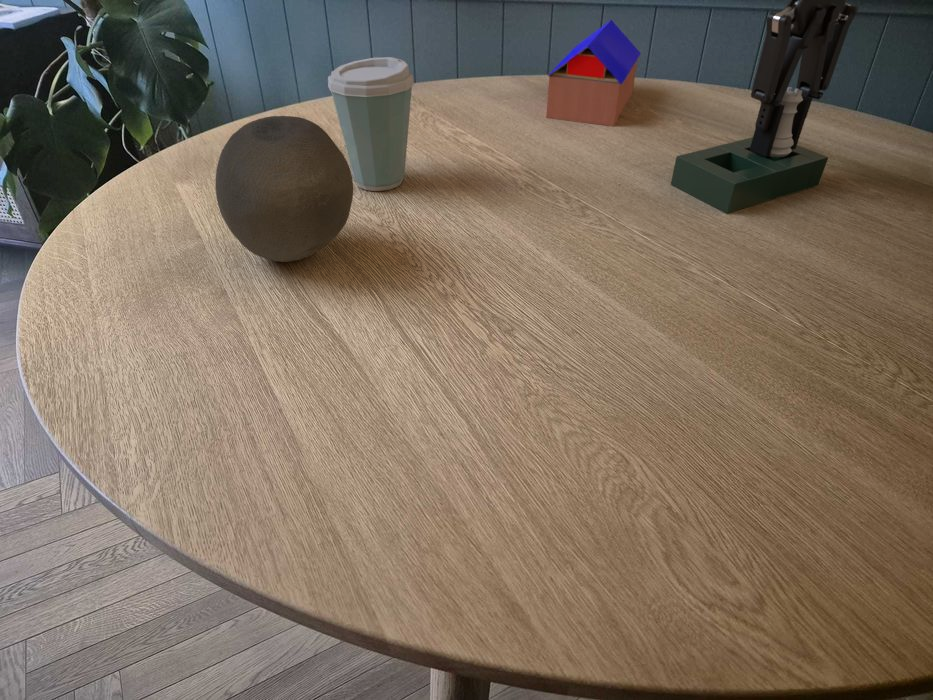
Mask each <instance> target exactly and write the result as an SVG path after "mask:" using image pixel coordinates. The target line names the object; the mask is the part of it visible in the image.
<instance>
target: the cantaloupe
mask: <svg viewBox="0 0 933 700" xmlns="http://www.w3.org/2000/svg"><path fill="white" fill-rule="evenodd" d="M353 181H354V179H353V174H352V170H351V167H350V166H349V163H348V161H347V159H346V157H345V155H344V154H343V152H342V151H341V150H340V148H339V147H338V146H337V144H336V142H335V141H333V139H332V138H331V136H330V134H328V133H327V132H326V131H325V130H324V129H323V128H322V127H321V126H320V125H319V124H317V123H315V122H314V121H311V120H309V119H306V118H304V117H300V116H291V115H272V116H271V115H270V116H266V117H261V118H258V119H255V120H252V121H250V122H248V123H246V124H244V125H242V126H241V127H240V128H238V129H237V130H236V131H235V132H233V133H232V134H231V136H229V138H228V140H227V141H226V143H225V144H224V146H223V148H222V149H221V152H220V155H219V157H218V162H217V165H216V171H215V195H216V201H217V206H218V209H219V212H220V215H221V217H222V219H223V221H224V223H225V224H226V226H227V228H228V229H229V232H231V234H232V235H233V236H234V237H235V239H236V240H238V242H239V243H240V244H241V245H242V246H243V247H244V248H245V249H247V251H249V252H250V253H252V254H254V255H255V256H258V257H260V258H263V259H265V260H269V261H273V262H279V263H280V262H281V263H291V262H295V261H301V260H304V259H306V258H308V257H312V256H313V255H314V254H316V253H317V252H319V251H320V250H322V249H324V248H325V247H326V246H327V245H329V244H330V243H331V242H332V241H333V240H334V239H335V238H336V237H337V236H338V235H339V234H340V233H341V231H342V230H343V229H344V227H345V226H346V224H347V222H348V219H349V216H350V213H351V207H352V203H353V197H354V182H353Z"/></svg>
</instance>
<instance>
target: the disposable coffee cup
mask: <svg viewBox="0 0 933 700" xmlns="http://www.w3.org/2000/svg"><path fill="white" fill-rule="evenodd" d="M327 83H328V84H327V87H328V89H329V91H330V92H331V96H332V100H333V104H334V107H335V111H336V114H337V119H338V123H339V127H340V130H341V134H342V139H343V142H344V145H345V150H346V154H347V157H348V161H349V165H350V170H351V174H352V177H353V180H354V182H355V183H356V184H357V187H358V188H360V189H363V190H365V191H373V192H382V191H390V190H393V189H395V188H397V187H399V186H400V185H401V184H402V183H403V179H404V178H405V175H406V161H407V150H408V149H407V148H408V137H409V125H410V112H411V102H412V92H413V91H412V90H413V89H412V88H413V86H414V85H415V83H414V76H413V75H412V73H411V72H410V69H409V65H408V63H407V62H406V61H405V60H402V59H401V58H396V57H391V56H389V57H387V56H386V57H383V56H382V57H370V58H364V59H360V60H358V59H357V60H354V61H350V62H348V63H345V64H344V63H343V64H342V65H339V66H338V67H336V68H335V69H334V70H332V71H331V72H330V75H328V77H327Z"/></svg>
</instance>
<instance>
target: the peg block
mask: <svg viewBox="0 0 933 700" xmlns="http://www.w3.org/2000/svg"><path fill="white" fill-rule="evenodd" d="M752 139H753V136H751V137H748V138H744V139H743V138H742V139H739V140H736V141H732V142H728V143H723V144H719V145H717V146H713V147H708V148H704V149H699V150H697V151H692V152H688V153H684V154H680V155H676V157H675V161H674V165H673V171H672V176H671V180H670V185H671V186H673V187H675V188H676V189H678V190H680V191H682V192H684V193H686V194H688V195H690V196H692V197H694V198H696V199H697V200H699V201H702V202H703V203H706V204H707V205H710V206H712V207H713V208H715V209H717V210H719V211H721V212H723V213H725V214H730V213H733V212H737V211H739V210H740V211H741V210H743V209H746V208H750V207H753V206H756V205H759V204H763V203H766V202H769V201H772V200H775V199H778V198H783V197H786V196H788V195H792V194H795V193H798V192H801V191H804V190H808V189H811V188H815V187H818V186H819V185H820V183H821V180H822V177H823V173H824V172H825V171H824V170H825V168H826V165H827V162H828V160H829V156H826V155H824V154H821V153H819V152H816V151H814V150H811V149H809V148H806V147H803V146H801V145H798V144H797V146H796V149H794V150H792V152H791V153H789V154H788V155H787V156H784V157H771V156H768V157H764V156H762V155H760V154H757V153H755V152H753V151H750V146H751V143H752Z"/></svg>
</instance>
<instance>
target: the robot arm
mask: <svg viewBox="0 0 933 700" xmlns="http://www.w3.org/2000/svg"><path fill="white" fill-rule="evenodd" d="M858 12H859V6H858V5H854V4H849V3H847V0H788V2H787V4H786V8H784V9H783V10H781V11H780V12H774V11H771V12H770V13H769V14H768V15H767V17H766V32H765V33H766V34H765V38H764V42H763V46H762V50H761V54H760V58H759V62H758V65H757V69H756V70H757V71H756V73H755V77H754V80H753V85H752V88H751V93H750V97H751V98H752V99H754V100H757V101H760V106H759V110H758V113H757V117H756V120H755V123H754V124H755V126H754V127H755V129H754V132H753V136H752V137H753V139H752V143H751V146H750V151H753V152H755V153H757V154H760V155H762V156H764V157H768V156H770V153H771V150H772V146H773V143H774V140H775V136H776V133H777V130H778V126H779V123H780V120H781V117H782V113H783V110H784V107H785V106H784V105H781V104H780V103H781V101H782V99H783V97H784V94H785V92H786V91H787V89H788V87H789V85H790V83H791V80H792V78H793V76H794V73H795V71H796V69H797V67H798V65H799V62H800V65H799V70H798V74H797V75H798V77H797V82H796V88H797V89H799V90H802V94H801V96H802V99H803V100H802V101H801V102H800V103H799V104H798V105H797V108H796V110H797V112H796V113H795V115H794V118H793V123H792V132H791V133H792V135H793V136H792V139H793V141H794V144H793V145H792V146H791V147H790V148H791V150H794V149H796V146H797V145H798V144H799V140H800V137H801V134H802V130H803V127H804V124H805V122H806V119H807V116H808V114H809V111H810V109H811V105H812V102H813V99H815V100H818V101H819V100H820V99H822V97H823V96H824V92H825V91H826V90H828V88H829V86H830V84H831V80H832V78H833V74H834V72H835V69H836V66H837V64H838V61H839V58H840V54H841V51H842V49H843V46H844V43H845V40H846V37H847V36H848V35H847V34H848V33H849V32H848V31H849V28H850V27H851V24H852V23H853V21H854V19H855V17H856V16H857V13H858ZM821 91H822V92H821Z"/></svg>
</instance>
